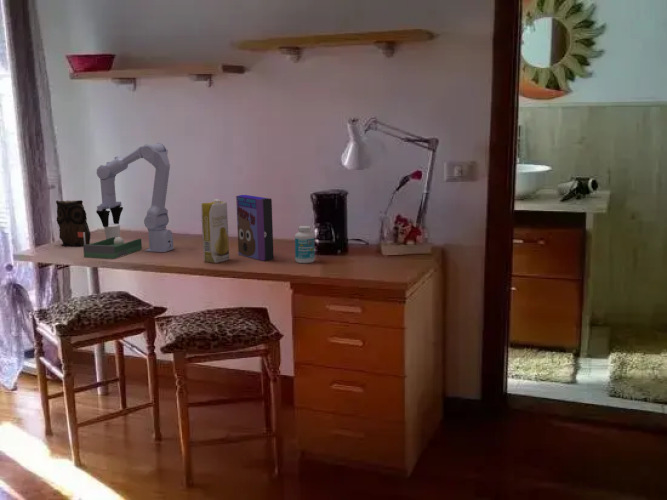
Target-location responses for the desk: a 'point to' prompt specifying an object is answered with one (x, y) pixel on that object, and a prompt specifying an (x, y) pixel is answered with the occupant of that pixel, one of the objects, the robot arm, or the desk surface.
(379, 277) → the desk surface
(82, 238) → the owl
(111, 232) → the grey cup
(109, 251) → the putting green
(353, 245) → the desk surface
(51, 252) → the desk surface
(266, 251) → the cereal box
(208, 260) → the juice carton
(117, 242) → the golf ball
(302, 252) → the pill bottle
